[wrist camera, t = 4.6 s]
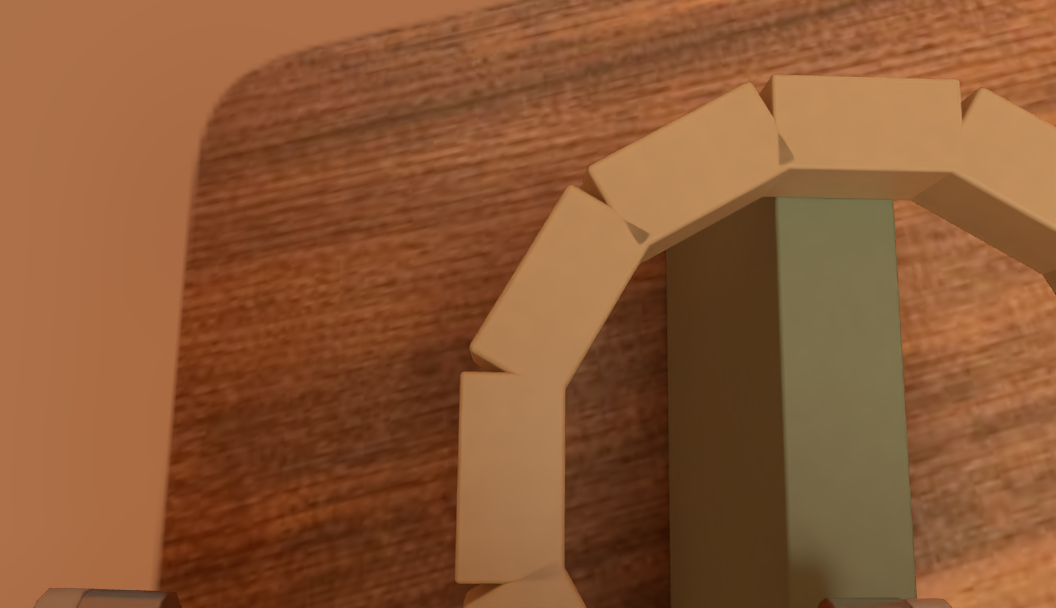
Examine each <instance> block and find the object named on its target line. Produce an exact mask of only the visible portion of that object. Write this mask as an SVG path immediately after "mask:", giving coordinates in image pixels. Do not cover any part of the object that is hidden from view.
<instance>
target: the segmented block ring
mask: <svg viewBox="0 0 1056 608" xmlns="http://www.w3.org/2000/svg"><path fill="white" fill-rule="evenodd" d="M761 197H805V198H851V199H898V200H911V201H913V202H915V203H917V204H918V205H920V206H922V207H924V208H926V209H927V210H929V211H931V212H933V213H934V214H936V215H938V216H940V217H941V218H943V219H945V220H947V221H949V222H950V223H952V224H954V225H956V226H957V227H959V228H961V229H963V230H964V231H966V232H968V233H970V234H972V235H973V236H975V237H977V238H979V239H980V240H982V241H984V242H986V243H987V244H989V245H991V246H993V247H995V248H996V249H998V250H1000V251H1002V252H1003V253H1005V254H1007V255H1009V256H1011V257H1012V258H1014V259H1016V260H1018V261H1019V262H1021V263H1023V264H1025V265H1026V266H1028V267H1030V268H1032V269H1034V270H1035V271H1037V272H1039V273H1041V274H1042V275H1043V276H1044V278H1045V279H1046V281H1047V282H1048V284H1049V285H1050V287H1051V288H1052V290H1053V291H1054V293H1055V294H1056V127H1055V126H1053V125H1051V124H1049V123H1047V122H1046V121H1044V120H1042V119H1040V118H1038V117H1037V116H1035V115H1033V114H1031V113H1029V112H1028V111H1026V110H1024V109H1022V108H1020V107H1018V106H1017V105H1015V104H1013V103H1011V102H1009V101H1008V100H1006V99H1004V98H1002V97H1000V96H999V95H997V94H995V93H993V92H991V91H990V90H988V89H986V88H983V87H981V88H979V89H978V90H976V91H975V92H974V93H972V94H971V95H970V96H969V97H967V98H966V99H965V100H963V101H962V102H961V96H960V83H959V80H957V79H923V78H883V77H844V76H804V75H773V76H772V77H771V78H770V79H769V81H768V82H767V84H766V85H765V87H764V88H763V89H762V91H761V92H760V94H758V92H757V91H756V89H755V87H754V86H753V84H752V83H751V82H747V83H744V84H742V85H740V86H738V87H736V88H734V89H732V90H731V91H729V92H727V93H725V94H723V95H721V96H719V97H717V98H716V99H714V100H712V101H710V102H708V103H706V104H704V105H702V106H700V107H699V108H697V109H695V110H693V111H691V112H689V113H687V114H685V115H684V116H682V117H680V118H678V119H676V120H674V121H672V122H670V123H669V124H667V125H665V126H663V127H661V128H659V129H657V130H655V131H653V132H652V133H650V134H648V135H646V136H644V137H642V138H640V139H638V140H637V141H635V142H633V143H631V144H629V145H627V146H625V147H623V148H621V149H620V150H618V151H616V152H614V153H612V154H610V155H608V156H606V157H605V158H603V159H601V160H599V161H597V162H595V163H593V164H591V165H590V166H589V167H588V168H587V171H586V174H585V178H584V181H583V185H582V188H581V189H579V188H577V187H576V186H574V185H569V186H568V187H566V189H565V190H564V192H563V194H562V195H561V197H560V198H559V200H558V202H557V203H556V205H555V207H554V208H553V210H552V211H551V213H550V215H549V216H548V218H547V220H546V221H545V223H544V225H543V226H542V228H541V229H540V231H539V233H538V234H537V236H536V238H535V239H534V241H533V242H532V244H531V246H530V247H529V249H528V251H527V252H526V254H525V256H524V257H523V259H522V260H521V262H520V264H519V265H518V267H517V269H516V270H515V272H514V273H513V275H512V277H511V278H510V280H509V282H508V283H507V285H506V287H505V288H504V290H503V291H502V293H501V295H500V296H499V298H498V300H497V301H496V303H495V304H494V306H493V308H492V309H491V311H490V313H489V314H488V316H487V317H486V319H485V321H484V322H483V324H482V326H481V327H480V329H479V331H478V332H477V334H476V335H475V337H474V339H473V340H472V342H471V344H470V348H469V349H470V353H471V356H472V360H473V361H474V362H475V363H476V364H478V365H480V366H481V367H483V368H485V369H486V370H488V371H490V372H466V371H464V372H462V373H461V375H460V401H459V438H458V476H457V514H456V551H455V581H456V582H457V583H459V584H480V585H478V586H477V587H475V588H473V589H471V590H470V591H468V592H467V594H466V597H465V601H464V604H463V608H587V607H586V605H585V604H584V602H583V600H582V598H581V596H580V594H579V593H578V591H577V589H576V587H575V585H574V584H573V582H572V580H571V578H570V576H569V574H568V573H567V571H566V569H565V412H566V388H567V386H568V384H569V383H570V381H571V379H572V378H573V376H574V374H575V372H576V371H577V369H578V367H579V366H580V364H581V362H582V361H583V359H584V357H585V355H586V354H587V352H588V350H589V349H590V347H591V345H592V344H593V342H594V340H595V338H596V337H597V335H598V333H599V332H600V330H601V328H602V326H603V325H604V323H605V321H606V320H607V318H608V316H609V315H610V313H611V311H612V309H613V308H614V306H615V304H616V303H617V301H618V299H619V298H620V296H621V294H622V292H623V291H624V289H625V287H626V286H627V284H628V282H629V280H630V279H631V277H632V275H633V274H634V272H635V270H636V269H637V267H638V265H639V264H641V263H643V262H644V261H646V260H648V259H650V258H652V257H654V256H655V255H657V254H659V253H661V252H663V251H665V250H666V249H668V248H670V247H672V246H674V245H675V244H677V243H679V242H681V241H683V240H685V239H686V238H688V237H690V236H692V235H694V234H695V233H697V232H699V231H701V230H703V229H705V228H706V227H708V226H710V225H712V224H714V223H715V222H717V221H719V220H721V219H723V218H725V217H726V216H728V215H730V214H732V213H734V212H736V211H737V210H739V209H741V208H743V207H745V206H746V205H748V204H750V203H752V202H754V201H756V200H757V199H759V198H761Z"/></svg>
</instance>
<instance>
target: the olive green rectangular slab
mask: <svg viewBox="0 0 1056 608" xmlns="http://www.w3.org/2000/svg"><path fill="white" fill-rule="evenodd" d="M666 296H667V369H668V443H669V516H670V589H671V608H818V606H819V603H820V602H821V601H822V600H823V599H825V598H885V597H899V598H901V599H917V594H916V577H915V560H914V543H913V526H912V509H911V493H910V476H909V459H908V442H907V425H906V408H905V391H904V375H903V358H902V341H901V324H900V307H899V290H898V274H897V257H896V240H895V223H894V206H893V199H851V198H805V197H761V198H759V199H757V200H756V201H754V202H752V203H750V204H748V205H746V206H745V207H743V208H741V209H739V210H737V211H736V212H734V213H732V214H730V215H728V216H726V217H725V218H723V219H721V220H719V221H717V222H715V223H714V224H712V225H710V226H708V227H706V228H705V229H703V230H701V231H699V232H697V233H695V234H694V235H692V236H690V237H688V238H686V239H685V240H683V241H681V242H679V243H677V244H675V245H674V246H672V247H670V248H668V249H666Z"/></svg>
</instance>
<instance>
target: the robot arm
mask: <svg viewBox="0 0 1056 608" xmlns="http://www.w3.org/2000/svg"><path fill="white" fill-rule="evenodd" d="M34 608H182V606H181V604H180V601H179V598H178V595H177V593H176V592H173V591H139V590H107V589H106V590H105V589H75V588H74V589H73V588H70V589H69V588H49V589H48V590H47V591H46V592H45V593H44V594H43V595H42V596H41V597H40V598H39V599H38V600H37V602H36V604H35V606H34ZM818 608H952V607H951V606H950V605H949V604H948V603H947V602H946V601H945V600H944V599H901V598H899V597H885V598H825V599H823V600H822V601H821V602H820V603H819V606H818Z"/></svg>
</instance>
